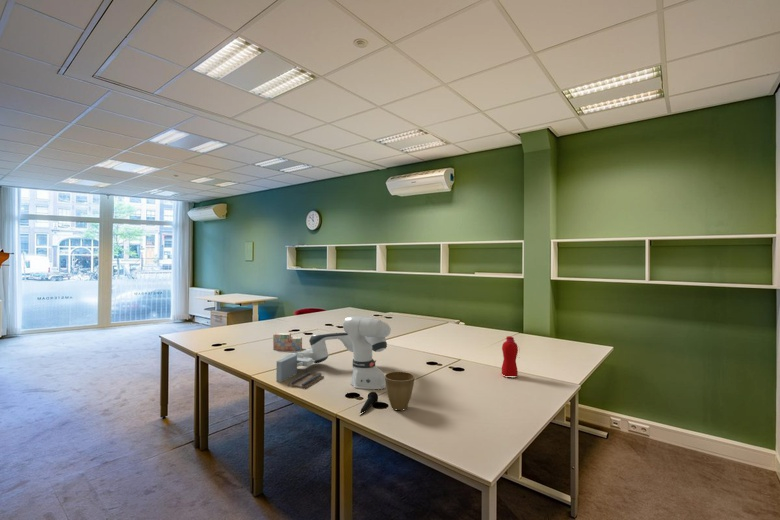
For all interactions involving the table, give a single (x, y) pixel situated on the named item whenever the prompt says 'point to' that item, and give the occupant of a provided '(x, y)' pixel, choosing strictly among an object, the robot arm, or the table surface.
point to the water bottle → (509, 357)
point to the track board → (305, 380)
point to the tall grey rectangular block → (286, 368)
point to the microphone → (370, 401)
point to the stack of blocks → (286, 342)
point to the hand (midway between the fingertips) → (290, 364)
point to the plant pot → (399, 388)
